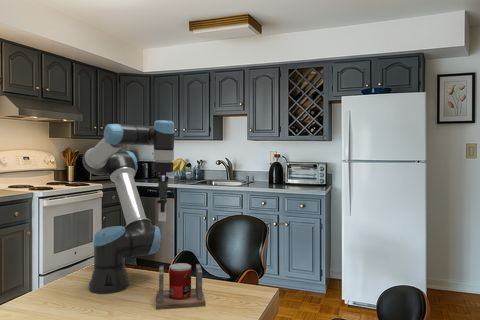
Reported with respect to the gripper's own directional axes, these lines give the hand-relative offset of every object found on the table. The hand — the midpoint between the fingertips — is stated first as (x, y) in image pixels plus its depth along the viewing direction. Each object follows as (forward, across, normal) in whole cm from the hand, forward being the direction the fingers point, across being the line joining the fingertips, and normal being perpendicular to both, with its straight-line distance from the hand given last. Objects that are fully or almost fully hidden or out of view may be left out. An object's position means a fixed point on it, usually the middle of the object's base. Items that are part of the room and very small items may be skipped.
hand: (162, 217), depth 145 cm
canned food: (+27, +9, +7) cm, 30 cm away
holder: (+29, +9, +7) cm, 31 cm away
